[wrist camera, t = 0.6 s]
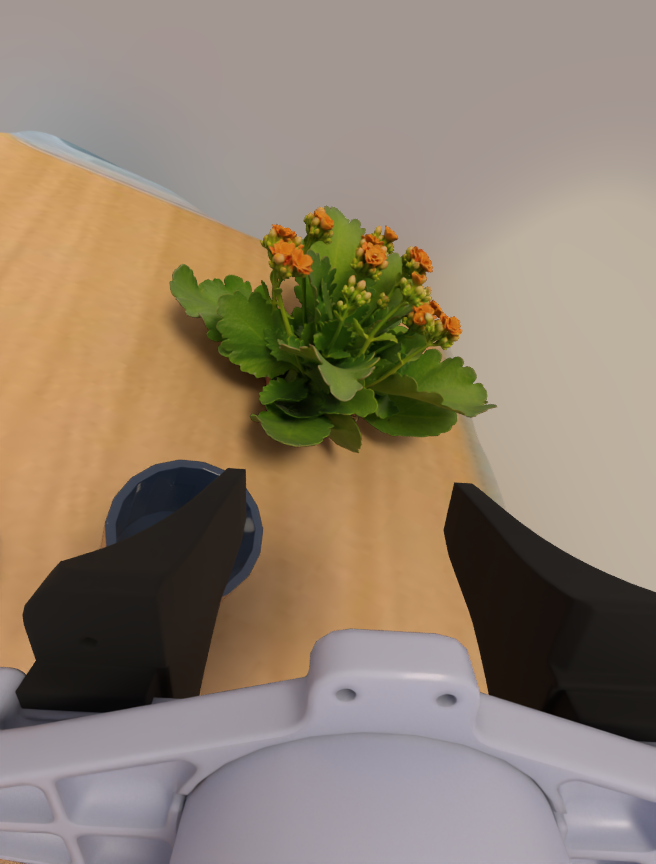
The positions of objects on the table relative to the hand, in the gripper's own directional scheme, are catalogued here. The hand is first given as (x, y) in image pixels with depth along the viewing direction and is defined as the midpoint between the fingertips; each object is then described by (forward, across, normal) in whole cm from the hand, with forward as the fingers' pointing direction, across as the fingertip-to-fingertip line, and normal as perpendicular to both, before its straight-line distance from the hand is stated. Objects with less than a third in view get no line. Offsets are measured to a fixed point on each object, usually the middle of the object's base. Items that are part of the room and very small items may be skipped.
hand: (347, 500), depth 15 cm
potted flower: (+29, +2, +7) cm, 30 cm away
